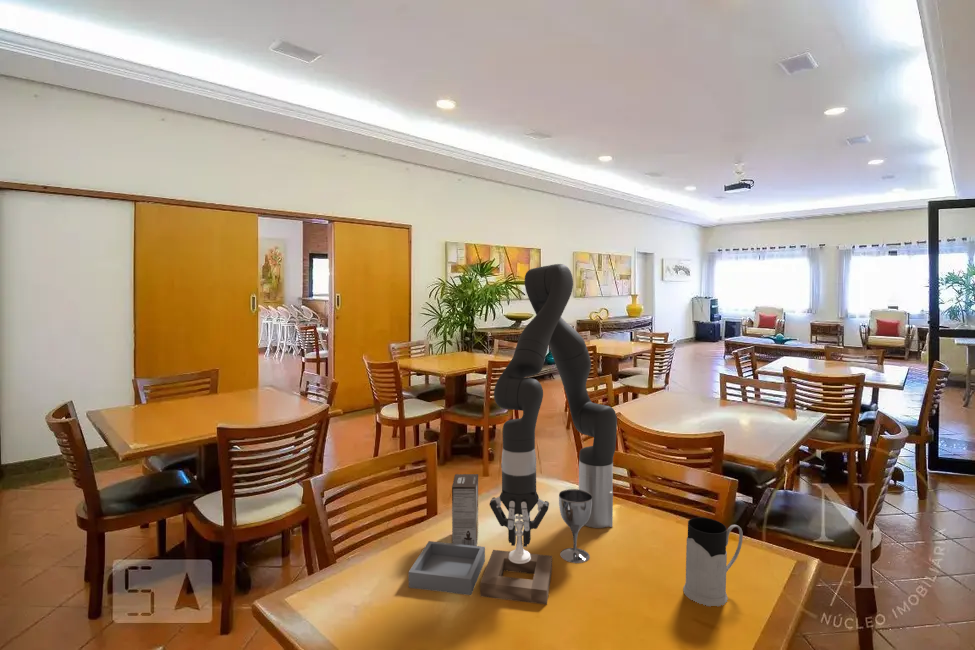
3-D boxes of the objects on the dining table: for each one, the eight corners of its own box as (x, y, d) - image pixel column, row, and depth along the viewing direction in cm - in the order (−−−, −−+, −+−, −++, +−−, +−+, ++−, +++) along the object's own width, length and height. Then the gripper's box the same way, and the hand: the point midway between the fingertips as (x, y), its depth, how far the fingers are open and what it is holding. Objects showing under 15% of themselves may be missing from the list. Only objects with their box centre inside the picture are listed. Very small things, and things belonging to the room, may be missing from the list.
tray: (484, 561, 120) (484, 546, 120) (471, 595, 107) (471, 579, 106) (429, 554, 123) (428, 541, 123) (408, 587, 109) (408, 571, 109)
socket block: (552, 568, 117) (552, 555, 117) (546, 604, 103) (546, 590, 103) (493, 561, 120) (493, 549, 120) (480, 596, 106) (480, 582, 106)
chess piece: (529, 564, 108) (529, 520, 108) (506, 562, 109) (506, 518, 109) (531, 553, 113) (531, 510, 113) (510, 551, 114) (510, 508, 114)
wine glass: (553, 558, 121) (554, 498, 120) (564, 544, 128) (565, 486, 127) (585, 567, 117) (586, 504, 117) (595, 551, 125) (596, 492, 124)
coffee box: (454, 531, 135) (454, 473, 134) (478, 532, 135) (478, 473, 134) (451, 549, 126) (451, 486, 125) (477, 549, 126) (477, 486, 125)
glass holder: (674, 586, 110) (675, 519, 109) (724, 574, 115) (726, 509, 114) (704, 610, 101) (706, 538, 100) (757, 595, 106) (759, 526, 105)
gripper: (552, 464, 112) (552, 539, 113) (491, 460, 115) (491, 533, 116) (549, 476, 105) (549, 556, 106) (484, 472, 108) (485, 550, 109)
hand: (519, 544), depth 111 cm, fingers closed on chess piece
